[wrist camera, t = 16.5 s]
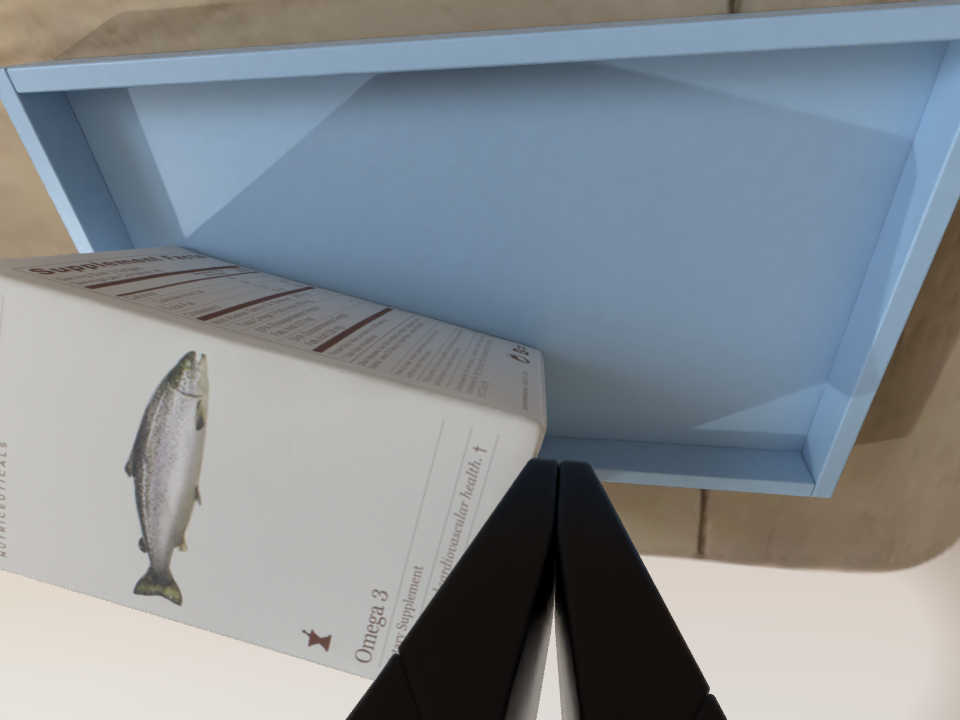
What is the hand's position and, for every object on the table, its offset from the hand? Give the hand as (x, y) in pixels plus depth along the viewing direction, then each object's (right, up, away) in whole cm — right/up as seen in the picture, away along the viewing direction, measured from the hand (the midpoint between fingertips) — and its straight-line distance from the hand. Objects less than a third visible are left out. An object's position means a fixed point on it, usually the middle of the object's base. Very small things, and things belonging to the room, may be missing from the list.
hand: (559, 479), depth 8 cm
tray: (-2, +4, +9) cm, 10 cm away
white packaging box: (0, -2, +7) cm, 7 cm away
